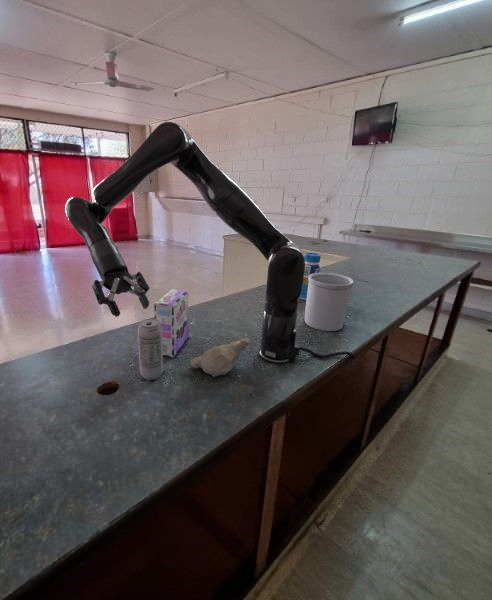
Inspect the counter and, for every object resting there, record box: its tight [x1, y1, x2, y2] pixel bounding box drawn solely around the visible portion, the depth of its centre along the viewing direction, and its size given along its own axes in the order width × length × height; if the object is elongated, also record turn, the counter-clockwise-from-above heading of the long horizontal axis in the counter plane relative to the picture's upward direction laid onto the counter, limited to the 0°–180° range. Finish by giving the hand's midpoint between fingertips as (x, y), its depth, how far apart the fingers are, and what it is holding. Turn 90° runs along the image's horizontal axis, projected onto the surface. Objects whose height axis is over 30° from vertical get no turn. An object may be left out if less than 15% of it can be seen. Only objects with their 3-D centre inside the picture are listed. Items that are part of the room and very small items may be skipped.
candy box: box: [153, 288, 189, 359], centre depth 95 cm, size 14×6×16 cm, turn 165°
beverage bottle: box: [299, 252, 321, 301], centre depth 140 cm, size 8×8×20 cm
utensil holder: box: [304, 272, 354, 332], centre depth 114 cm, size 15×15×18 cm
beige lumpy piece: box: [190, 337, 251, 378], centre depth 85 cm, size 15×7×15 cm
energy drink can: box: [137, 318, 164, 381], centre depth 81 cm, size 6×6×15 cm
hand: (133, 311), depth 83 cm, fingers open, 8 cm apart
